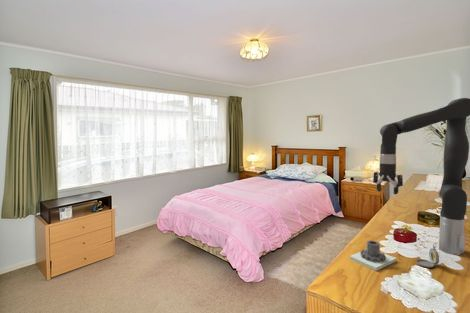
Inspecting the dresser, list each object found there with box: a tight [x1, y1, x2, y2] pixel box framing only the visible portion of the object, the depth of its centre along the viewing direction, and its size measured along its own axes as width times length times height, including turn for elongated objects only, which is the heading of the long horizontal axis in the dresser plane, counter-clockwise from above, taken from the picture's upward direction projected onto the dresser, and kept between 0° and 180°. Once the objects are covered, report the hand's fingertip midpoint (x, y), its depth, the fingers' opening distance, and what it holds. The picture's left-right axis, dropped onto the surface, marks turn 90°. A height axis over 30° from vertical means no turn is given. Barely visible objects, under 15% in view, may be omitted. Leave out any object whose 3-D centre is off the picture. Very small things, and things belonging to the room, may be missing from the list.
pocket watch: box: [415, 243, 440, 269], centre depth 116 cm, size 8×8×10 cm
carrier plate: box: [349, 251, 397, 272], centre depth 122 cm, size 13×16×6 cm
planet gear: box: [360, 240, 386, 263], centre depth 122 cm, size 10×10×7 cm
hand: (387, 192), depth 137 cm, fingers open, 8 cm apart
